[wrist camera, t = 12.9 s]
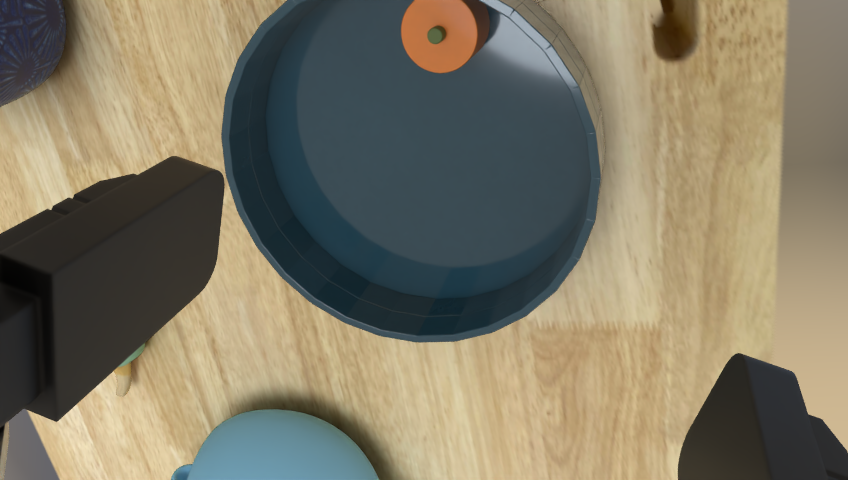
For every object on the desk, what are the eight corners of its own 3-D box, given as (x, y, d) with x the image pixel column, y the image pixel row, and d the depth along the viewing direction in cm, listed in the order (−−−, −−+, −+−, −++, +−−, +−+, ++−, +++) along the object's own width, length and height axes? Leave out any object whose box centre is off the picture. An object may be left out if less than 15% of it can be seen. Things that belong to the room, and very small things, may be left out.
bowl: (397, -132, 36) (363, -135, 32) (687, 146, 38) (693, 178, 34) (206, 148, 47) (161, 174, 42) (443, 355, 49) (424, 401, 44)
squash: (449, -33, 37) (429, -25, 34) (505, 20, 38) (491, 33, 34) (403, 26, 39) (380, 38, 36) (457, 75, 40) (439, 93, 36)
